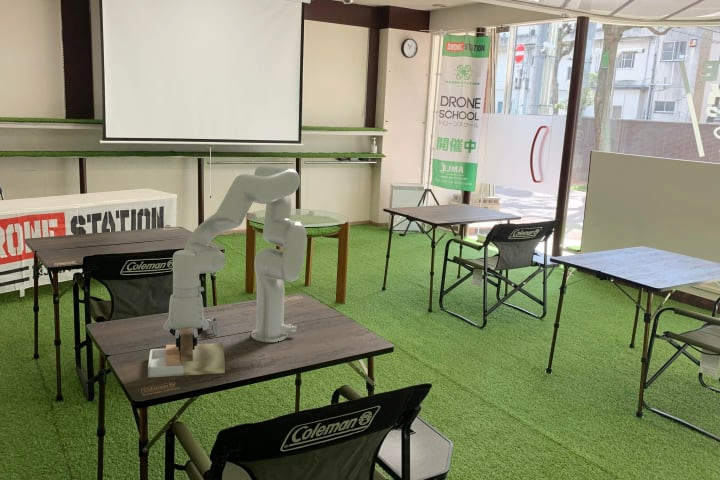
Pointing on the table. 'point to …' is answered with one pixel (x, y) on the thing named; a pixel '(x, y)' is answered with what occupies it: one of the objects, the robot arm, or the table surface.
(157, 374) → the tray
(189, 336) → the brown tapered block
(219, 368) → the beige flat block
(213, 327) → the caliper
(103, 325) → the table surface
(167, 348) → the pink cube
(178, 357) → the tan wooden cube
